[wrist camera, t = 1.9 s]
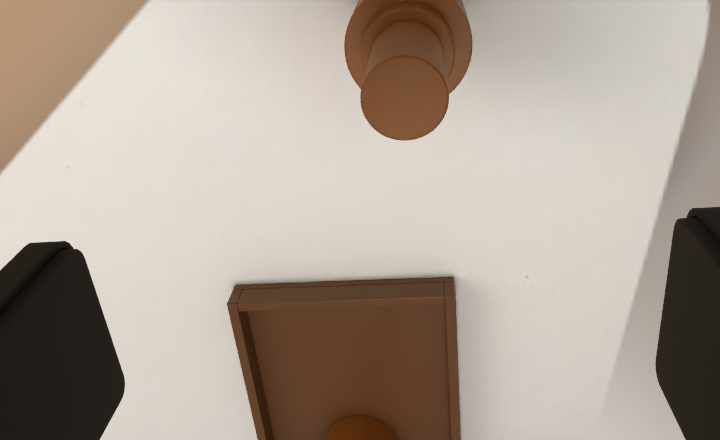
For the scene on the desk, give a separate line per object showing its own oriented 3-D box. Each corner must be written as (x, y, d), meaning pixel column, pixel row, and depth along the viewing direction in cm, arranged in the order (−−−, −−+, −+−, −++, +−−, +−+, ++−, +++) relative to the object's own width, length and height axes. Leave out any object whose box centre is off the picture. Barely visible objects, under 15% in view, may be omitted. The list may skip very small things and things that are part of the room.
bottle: (459, -50, 31) (486, 8, 18) (462, 54, 33) (487, 169, 20) (356, -41, 31) (313, 23, 19) (365, 61, 33) (333, 178, 21)
